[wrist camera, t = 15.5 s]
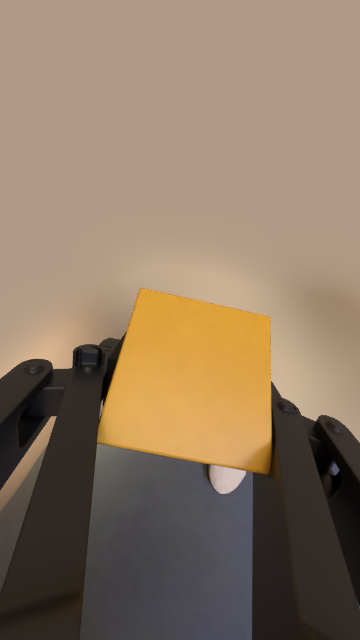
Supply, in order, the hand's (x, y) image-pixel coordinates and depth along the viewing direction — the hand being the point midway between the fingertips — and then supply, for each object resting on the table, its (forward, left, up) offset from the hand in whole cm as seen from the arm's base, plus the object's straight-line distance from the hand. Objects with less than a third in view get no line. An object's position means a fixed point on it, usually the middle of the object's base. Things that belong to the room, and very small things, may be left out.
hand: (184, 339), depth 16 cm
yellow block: (-1, -3, -3) cm, 5 cm away
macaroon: (+5, -14, -18) cm, 23 cm away
